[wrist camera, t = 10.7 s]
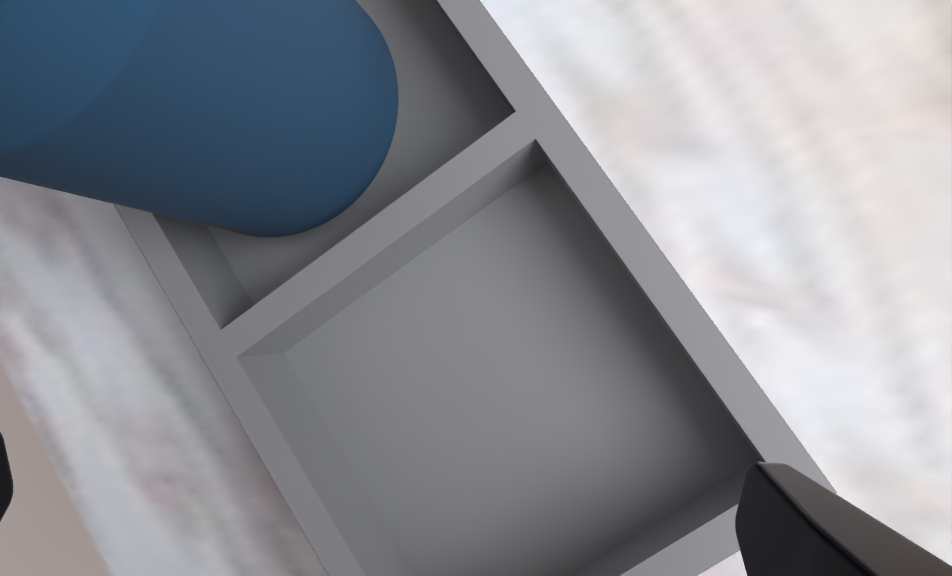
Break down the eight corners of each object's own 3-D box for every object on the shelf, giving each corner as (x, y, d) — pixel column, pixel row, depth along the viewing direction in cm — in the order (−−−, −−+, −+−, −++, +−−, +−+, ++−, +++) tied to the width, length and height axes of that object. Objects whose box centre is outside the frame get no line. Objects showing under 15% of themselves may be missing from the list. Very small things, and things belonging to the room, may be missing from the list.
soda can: (417, -8, 20) (102, -493, 8) (410, 243, 19) (69, 117, 8) (193, 9, 21) (-348, -378, 10) (183, 243, 21) (-390, 137, 9)
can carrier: (802, 464, 18) (837, 492, 15) (455, 675, 19) (422, 739, 16) (368, -138, 21) (325, -213, 18) (102, 84, 23) (23, 48, 20)
